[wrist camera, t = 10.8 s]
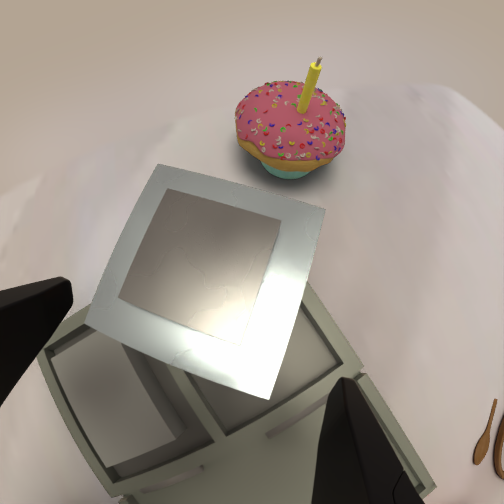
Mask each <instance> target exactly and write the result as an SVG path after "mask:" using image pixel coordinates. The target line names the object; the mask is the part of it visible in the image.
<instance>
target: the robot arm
mask: <svg viewBox="0 0 504 504" xmlns="http://www.w3.org/2000/svg"><path fill="white" fill-rule="evenodd" d="M72 304H73V294H72V286H71V282H70V281H69V280H68V279H66V278H64V277H56V278H51V279H47V280H43V281H39V282H35V283H30V284H26V285H22V286H18V287H14V288H10V289H6V290H2V291H0V407H1V405H2V404H3V402H4V401H5V399H6V398H7V396H8V395H9V393H10V392H11V391H12V389H13V388H14V386H15V385H16V383H17V382H18V381H19V379H20V378H21V376H22V375H23V374H24V372H25V371H26V370H27V368H28V367H29V366H30V364H31V363H32V362H33V360H34V359H35V358H36V356H37V355H38V354H39V352H40V351H41V350H42V349H43V347H44V346H45V345H46V343H47V342H48V341H49V339H50V338H51V337H52V335H53V334H54V332H55V331H56V329H57V328H58V326H59V325H60V323H61V322H62V320H63V319H64V317H65V316H66V314H67V313H68V311H69V310H70V308H71V307H72ZM311 504H425V503H424V501H423V500H422V498H421V497H420V495H419V494H418V492H417V490H416V489H415V487H414V485H413V483H412V482H411V480H410V478H409V476H408V474H407V473H406V471H405V470H404V467H403V465H402V464H401V462H400V460H399V458H398V456H397V454H396V453H395V451H394V449H393V447H392V445H391V444H390V442H389V440H388V438H387V436H386V435H385V433H384V431H383V429H382V427H381V426H380V424H379V422H378V420H377V419H376V417H375V415H374V413H373V411H372V410H371V408H370V406H369V404H368V403H367V401H366V399H365V397H364V396H363V394H362V392H361V390H360V389H359V387H358V385H357V383H356V382H355V380H354V379H351V378H347V377H340V378H339V379H338V381H337V382H336V384H335V385H334V387H333V388H332V390H331V392H330V393H329V395H328V398H327V403H326V408H325V413H324V418H323V423H322V428H321V432H320V437H319V442H318V449H317V459H316V468H315V477H314V485H313V493H312V500H311Z"/></svg>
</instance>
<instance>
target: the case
mask: <svg viewBox="0 0 504 504" xmlns="http://www.w3.org/2000/svg"><path fill="white" fill-rule="evenodd" d="M90 306H91V304H89V305H88V306H86V307H85V308H83V309H81V310H80V311H78V312H77V313H75V314H74V315H72V316H71V317H69V318H67V319H66V320H64V321H63V322H61V323H60V325H59V326H58V328H57V329H56V331H55V332H54V334H53V335H52V337H51V338H50V339H49V341H48V342H47V343H46V345H45V346H44V347H43V349H42V350H41V351H40V352H39V354H38V355H37V356H36V357H37V360H38V363H39V365H40V368H41V371H42V373H43V376H44V378H45V381H46V383H47V385H48V388H49V390H50V392H51V395H52V397H53V399H54V401H55V403H56V406H57V408H58V410H59V412H60V414H61V416H62V418H63V420H64V422H65V424H66V426H67V428H68V430H69V431H70V433H71V435H72V437H73V439H74V441H75V442H76V444H77V446H78V448H79V449H80V451H81V453H82V454H83V456H84V458H85V459H86V461H87V463H88V464H89V466H90V467H91V469H92V471H93V472H94V474H95V475H96V477H97V478H98V480H99V481H100V483H101V484H102V485H103V487H104V488H105V490H106V491H107V492H108V494H109V495H110V497H111V498H112V497H116V496H119V495H123V496H124V497H123V498H122V499H121V500H120V501H119V504H311V500H312V493H313V485H314V477H315V468H316V459H317V449H318V442H319V437H320V432H321V428H322V423H323V418H324V413H325V408H326V403H327V398H328V395H329V393H330V392H331V390H332V388H333V387H334V385H335V384H336V382H337V381H338V379H339V378H340V377H347V378H351V379H354V380H355V382H356V383H357V385H358V387H359V389H360V390H361V392H362V394H363V396H364V397H365V399H366V401H367V403H368V404H369V406H370V408H371V410H372V411H373V413H374V415H375V417H376V419H377V420H378V422H379V424H380V426H381V427H382V429H383V431H384V433H385V435H386V436H387V438H388V440H389V442H390V444H391V445H392V447H393V449H394V451H395V453H396V454H397V456H398V458H399V460H400V462H401V464H402V465H403V467H404V470H405V471H406V473H407V474H408V476H409V478H410V480H411V482H412V483H413V485H414V487H415V489H416V490H417V492H418V494H419V495H420V497H421V498H422V499H423V498H425V497H426V496H427V495H428V494H429V493H431V492H432V491H433V490H434V489H435V488H436V487H437V486H436V484H435V483H434V481H433V479H432V478H431V476H430V474H429V473H428V471H427V469H426V468H425V466H424V464H423V463H422V461H421V459H420V458H419V456H418V454H417V453H416V451H415V449H414V448H413V446H412V444H411V443H410V441H409V440H408V438H407V436H406V435H405V433H404V431H403V430H402V428H401V427H400V425H399V423H398V422H397V420H396V419H395V417H394V415H393V414H392V412H391V411H390V409H389V407H388V406H387V404H386V403H385V401H384V400H383V398H382V396H381V395H380V393H379V392H378V390H377V389H376V387H375V385H374V384H373V382H372V381H371V379H370V378H369V376H368V375H367V373H360V371H359V370H360V369H362V368H363V367H364V365H363V364H362V362H361V361H360V359H359V358H358V356H357V354H356V353H355V351H354V350H353V348H352V347H351V345H350V344H349V342H348V341H347V339H346V338H345V336H344V335H343V333H342V332H341V330H340V329H339V327H338V326H337V324H336V323H335V321H334V320H333V318H332V317H331V315H330V314H329V312H328V311H327V309H326V308H325V306H324V305H323V303H322V302H321V300H320V299H319V297H318V296H317V295H316V293H315V292H314V290H313V289H312V287H311V286H310V284H309V283H308V281H306V285H305V288H304V292H303V295H302V299H301V302H300V305H299V309H298V312H297V315H296V319H295V322H294V325H293V328H292V331H291V335H290V338H289V341H288V344H287V347H286V350H285V353H284V356H283V359H282V362H281V365H280V368H279V371H278V374H277V377H276V380H275V383H274V386H273V389H272V392H271V394H270V397H269V399H265V398H262V397H259V396H255V395H252V394H249V393H246V392H243V391H240V390H237V389H234V388H231V387H228V386H225V385H222V384H219V383H216V382H213V381H211V380H208V379H205V378H203V377H200V376H197V375H195V374H192V373H190V372H187V371H184V370H182V369H179V368H177V367H175V366H172V365H170V364H167V363H165V362H163V361H160V360H158V359H156V358H153V357H151V356H149V355H147V354H144V353H142V352H140V351H138V350H136V349H134V348H132V347H129V346H127V345H125V344H123V343H121V342H119V341H117V340H115V339H113V338H111V337H109V336H107V335H105V334H103V333H101V332H99V331H97V330H96V329H94V328H92V327H90V326H88V325H86V324H84V322H85V319H86V316H87V314H88V311H89V308H90Z"/></svg>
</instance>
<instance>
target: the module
mask: <svg viewBox="0 0 504 504" xmlns="http://www.w3.org/2000/svg"><path fill="white" fill-rule="evenodd" d="M325 210H326V209H323V208H320V207H317V206H314V205H310V204H307V203H304V202H301V201H297V200H294V199H291V198H287V197H284V196H281V195H277V194H274V193H270V192H267V191H263V190H260V189H256V188H253V187H249V186H245V185H242V184H238V183H234V182H231V181H227V180H223V179H219V178H215V177H211V176H208V175H204V174H200V173H195V172H191V171H187V170H183V169H179V168H175V167H170V166H166V165H162V164H157V166H156V168H155V170H154V171H153V173H152V175H151V177H150V179H149V180H148V182H147V184H146V186H145V188H144V190H143V191H142V193H141V195H140V197H139V199H138V201H137V203H136V205H135V207H134V209H133V211H132V213H131V215H130V217H129V219H128V221H127V223H126V225H125V227H124V229H123V231H122V233H121V235H120V237H119V239H118V242H117V244H116V246H115V248H114V250H113V253H112V255H111V257H110V259H109V262H108V264H107V266H106V269H105V271H104V273H103V276H102V278H101V280H100V283H99V285H98V288H97V290H96V293H95V295H94V298H93V300H92V303H91V306H90V308H89V311H88V314H87V316H86V319H85V322H84V324H86V325H88V326H90V327H92V328H94V329H96V330H97V331H99V332H101V333H103V334H105V335H107V336H109V337H111V338H113V339H115V340H117V341H119V342H121V343H123V344H125V345H127V346H129V347H132V348H134V349H136V350H138V351H140V352H142V353H144V354H147V355H149V356H151V357H153V358H156V359H158V360H160V361H163V362H165V363H167V364H170V365H172V366H175V367H177V368H179V369H182V370H184V371H187V372H190V373H192V374H195V375H197V376H200V377H203V378H205V379H208V380H211V381H213V382H216V383H219V384H222V385H225V386H228V387H231V388H234V389H237V390H240V391H243V392H246V393H249V394H252V395H255V396H259V397H262V398H265V399H269V397H270V394H271V392H272V389H273V386H274V383H275V380H276V377H277V374H278V371H279V368H280V365H281V362H282V359H283V356H284V353H285V350H286V347H287V344H288V341H289V338H290V335H291V331H292V328H293V325H294V322H295V319H296V315H297V312H298V309H299V305H300V302H301V299H302V295H303V292H304V288H305V285H306V281H307V278H308V274H309V271H310V267H311V264H312V260H313V256H314V253H315V249H316V245H317V241H318V238H319V234H320V230H321V226H322V222H323V218H324V214H325Z"/></svg>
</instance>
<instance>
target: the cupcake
mask: <svg viewBox="0 0 504 504" xmlns="http://www.w3.org/2000/svg"><path fill="white" fill-rule="evenodd" d="M321 60H322V57H319V58H318V59H317V62H316V63H315V62H314V63H311V65H310V68H309V72H308V75H307V78H306V81H305V84H304V83H303V82H294V81H274V82H272V83H267V84H266V83H265V85H264V86H261V87H258V88H255V89H253V90H252V91H251V92H250V93H249V94H248V95H247V96H245V98H244V99H243V100H242V101H241V102H240V103H239V104H238V106H237V108H236V111H235V122H236V132H237V139H238V143H239V145H240V146H241V147H242V148H243V149H245V150H246V151H248V152H249V153H250V154H251V155H253V156H254V157H256V158H257V159H259V160H260V161H261V163H262V165H263V166H264V168H265V169H266V170H267V171H268V172H269V173H271V174H272V175H274V176H276V177H279V178H283V179H297V178H300V177H303V176H305V175H307V174H308V173H309V172H310V171H312V170H314V169H316V168H318V167H320V166H322V165H325V164H328V163H329V162H331V161H332V160H333V158H334V157H335V156H337V155H338V154H339V153H340V152H341V151H342V149H343V148H344V145H345V127H346V123H345V119H346V117H344V113H342V109H340V105H339V106H338V104H337V103H335V102H334V101H333V100H332V99H331V98H330V97H329V96H328V95H327V94H325V93H323V91H322V90H321V89H319V88H318V89H317V88H315V85H316V83H317V80H318V77H319V74H320V71H321V68H322V67H321V65H320V62H321Z"/></svg>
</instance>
